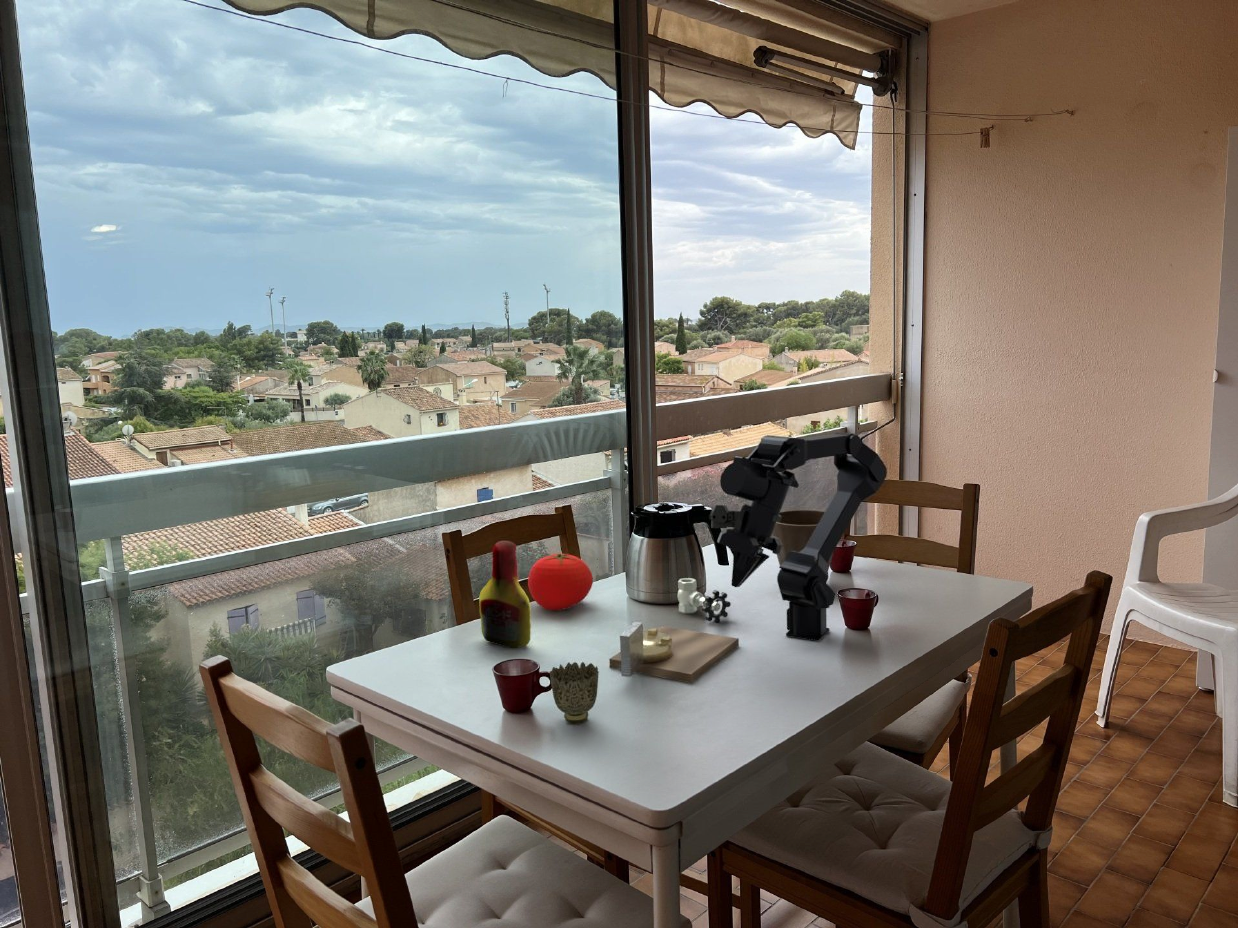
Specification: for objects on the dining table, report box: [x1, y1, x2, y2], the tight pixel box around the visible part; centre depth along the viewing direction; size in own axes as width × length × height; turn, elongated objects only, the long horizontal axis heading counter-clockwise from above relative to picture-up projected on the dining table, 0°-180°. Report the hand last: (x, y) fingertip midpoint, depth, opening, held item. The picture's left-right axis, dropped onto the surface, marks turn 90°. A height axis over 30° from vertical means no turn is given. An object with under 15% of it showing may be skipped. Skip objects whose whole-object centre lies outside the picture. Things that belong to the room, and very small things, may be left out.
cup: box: [549, 661, 600, 725], centre depth 137 cm, size 8×7×8 cm
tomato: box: [527, 553, 594, 611], centre depth 193 cm, size 13×14×12 cm
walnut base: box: [608, 625, 740, 684], centre depth 162 cm, size 16×19×2 cm
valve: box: [677, 577, 732, 624], centre depth 184 cm, size 7×7×12 cm
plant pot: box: [772, 509, 835, 571], centre depth 199 cm, size 15×15×16 cm
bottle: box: [478, 540, 532, 649], centre depth 171 cm, size 12×6×20 cm, turn 48°
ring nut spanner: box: [619, 621, 673, 678], centre depth 156 cm, size 16×9×7 cm, turn 160°
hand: (735, 586), depth 162 cm, fingers closed
